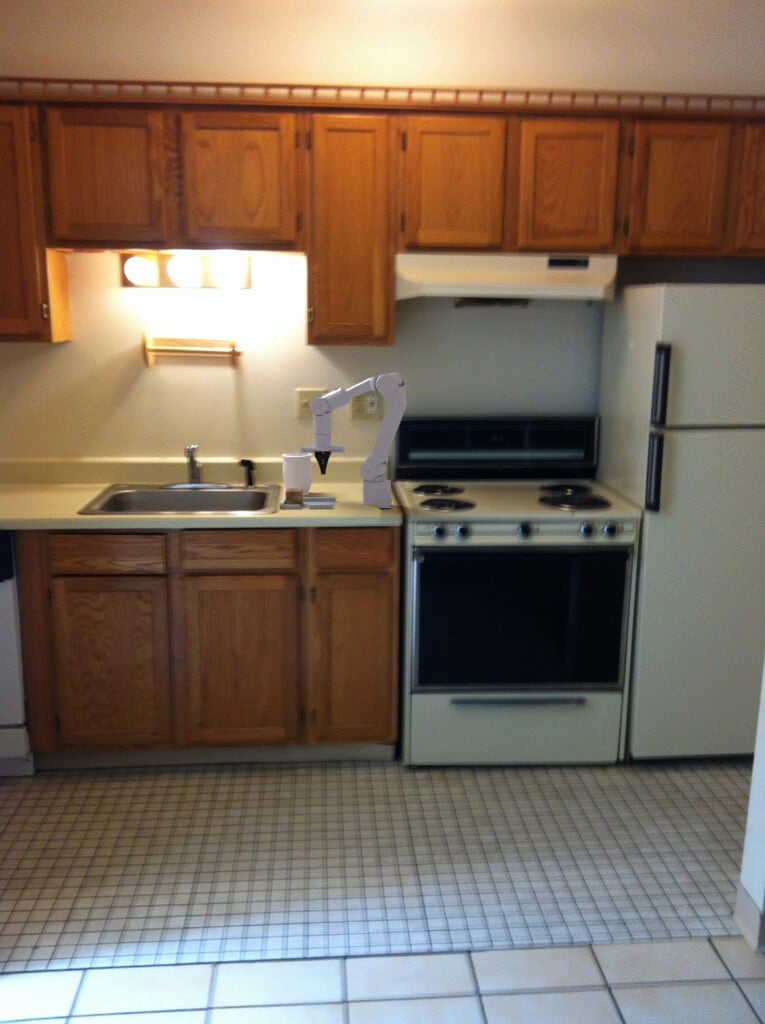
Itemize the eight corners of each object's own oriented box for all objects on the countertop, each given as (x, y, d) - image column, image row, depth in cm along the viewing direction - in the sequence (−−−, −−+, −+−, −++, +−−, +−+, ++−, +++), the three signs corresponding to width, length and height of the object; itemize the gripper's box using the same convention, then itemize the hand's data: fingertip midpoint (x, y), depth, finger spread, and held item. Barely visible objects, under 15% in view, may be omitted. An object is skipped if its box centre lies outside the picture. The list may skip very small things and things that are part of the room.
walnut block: (303, 503, 280) (302, 488, 279) (301, 506, 275) (300, 491, 274) (288, 503, 280) (287, 488, 279) (286, 506, 275) (285, 491, 274)
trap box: (335, 504, 283) (335, 494, 283) (332, 512, 272) (332, 502, 271) (284, 504, 284) (284, 495, 283) (279, 512, 272) (279, 502, 271)
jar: (280, 494, 299) (278, 452, 296) (308, 492, 303) (307, 450, 300) (287, 500, 290) (286, 457, 286) (316, 498, 293) (315, 455, 290)
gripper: (299, 435, 276) (300, 476, 279) (343, 435, 276) (344, 476, 279) (301, 432, 283) (302, 472, 286) (344, 432, 283) (345, 472, 286)
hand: (323, 474), depth 283 cm, fingers closed
